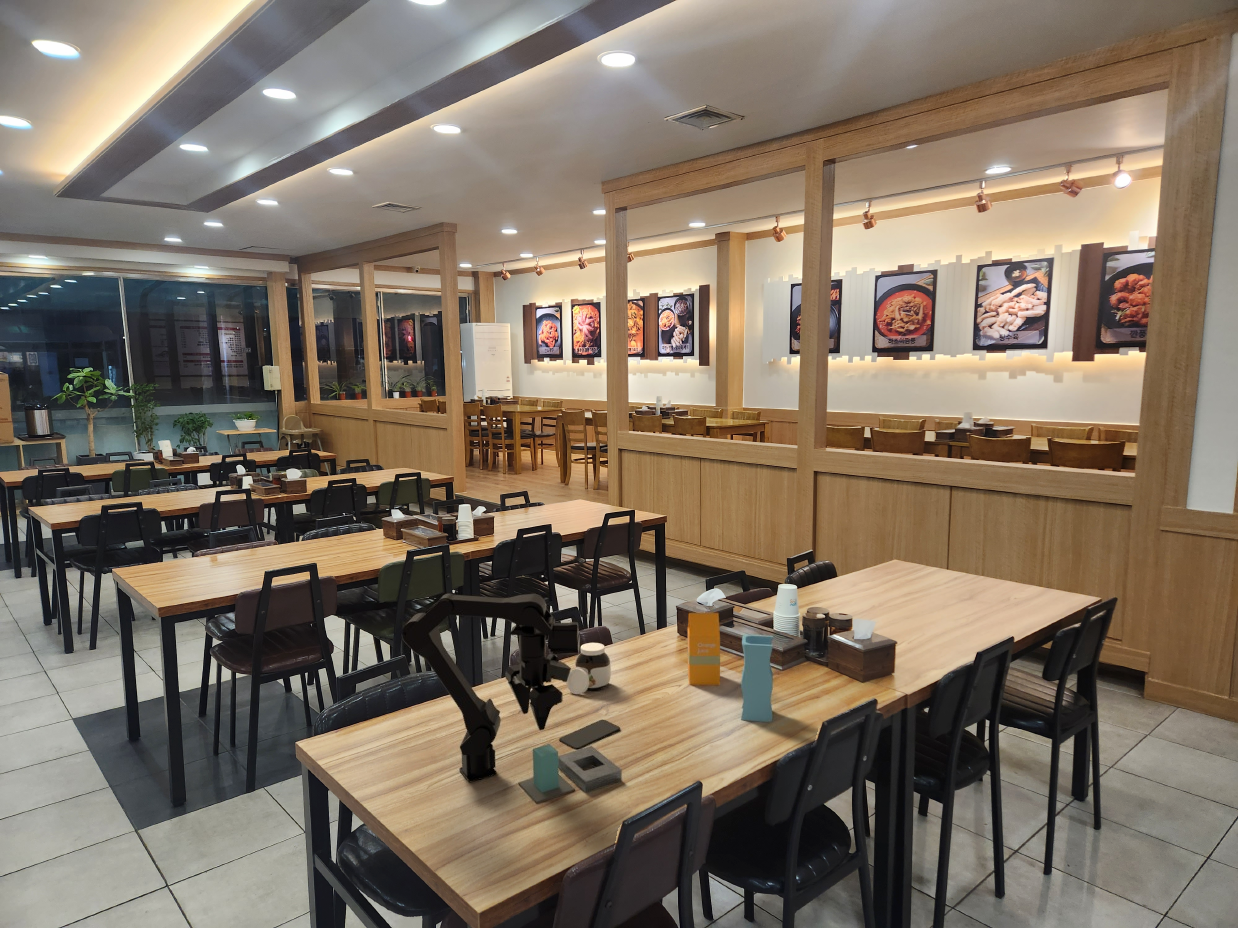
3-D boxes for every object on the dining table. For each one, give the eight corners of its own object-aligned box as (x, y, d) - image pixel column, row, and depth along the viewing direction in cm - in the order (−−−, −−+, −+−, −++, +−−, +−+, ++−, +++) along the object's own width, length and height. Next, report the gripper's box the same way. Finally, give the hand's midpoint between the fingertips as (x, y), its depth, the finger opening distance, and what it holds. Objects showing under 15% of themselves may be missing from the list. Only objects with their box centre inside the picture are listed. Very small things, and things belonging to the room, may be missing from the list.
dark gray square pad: (536, 803, 155) (536, 801, 155) (518, 784, 163) (518, 782, 163) (574, 790, 160) (574, 788, 160) (555, 772, 168) (555, 770, 168)
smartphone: (556, 738, 183) (602, 718, 193) (556, 742, 183) (602, 721, 193) (576, 749, 178) (622, 727, 188) (576, 752, 178) (622, 731, 188)
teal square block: (541, 792, 159) (541, 756, 158) (533, 784, 162) (532, 748, 161) (558, 786, 161) (558, 751, 160) (550, 778, 164) (549, 743, 163)
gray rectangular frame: (585, 792, 159) (585, 781, 159) (557, 766, 170) (557, 756, 170) (621, 780, 164) (621, 769, 164) (591, 755, 175) (591, 745, 175)
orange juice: (720, 684, 215) (720, 616, 213) (689, 684, 216) (689, 617, 214) (717, 674, 223) (717, 608, 221) (687, 674, 223) (687, 608, 221)
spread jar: (612, 681, 219) (611, 642, 218) (607, 697, 208) (607, 656, 207) (571, 680, 220) (570, 641, 219) (564, 696, 209) (563, 655, 208)
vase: (772, 722, 191) (773, 645, 189) (741, 719, 193) (741, 644, 191) (772, 709, 199) (773, 635, 197) (742, 706, 201) (742, 634, 198)
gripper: (584, 660, 161) (584, 730, 163) (549, 634, 177) (549, 698, 179) (536, 669, 155) (537, 741, 157) (504, 642, 172) (505, 708, 173)
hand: (533, 721), depth 167 cm, fingers open, 9 cm apart
